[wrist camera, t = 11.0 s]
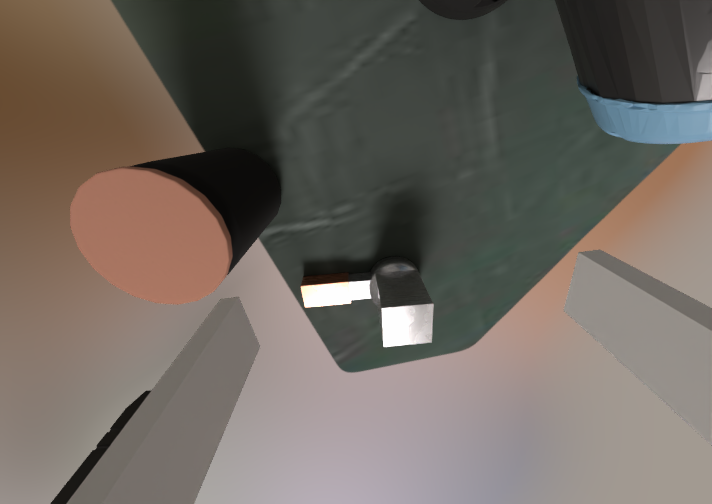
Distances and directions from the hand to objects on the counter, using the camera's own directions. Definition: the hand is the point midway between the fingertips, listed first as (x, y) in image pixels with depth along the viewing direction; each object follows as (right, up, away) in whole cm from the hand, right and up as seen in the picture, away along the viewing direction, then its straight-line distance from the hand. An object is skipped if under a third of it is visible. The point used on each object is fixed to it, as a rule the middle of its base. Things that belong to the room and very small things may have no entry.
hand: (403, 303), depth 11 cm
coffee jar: (-17, +10, +25) cm, 32 cm away
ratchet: (-1, -3, +31) cm, 31 cm away
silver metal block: (+4, -3, +28) cm, 29 cm away
